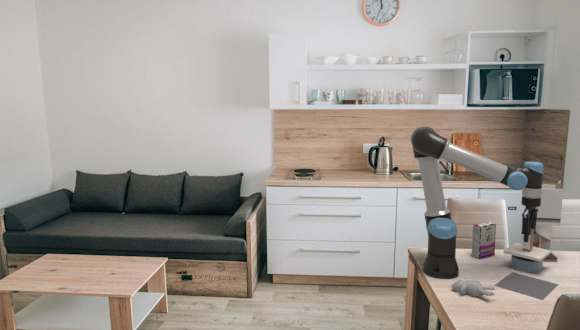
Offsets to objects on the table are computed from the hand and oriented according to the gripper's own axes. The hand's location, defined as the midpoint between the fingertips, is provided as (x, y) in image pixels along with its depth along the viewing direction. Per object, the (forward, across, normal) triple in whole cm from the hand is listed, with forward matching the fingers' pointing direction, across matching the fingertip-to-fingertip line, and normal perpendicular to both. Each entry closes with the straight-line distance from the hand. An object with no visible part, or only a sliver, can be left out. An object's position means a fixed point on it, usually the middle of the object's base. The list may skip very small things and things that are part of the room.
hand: (527, 247), depth 194 cm
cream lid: (+3, 0, 0) cm, 3 cm away
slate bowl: (+10, 0, 0) cm, 10 cm away
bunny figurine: (+10, -42, +6) cm, 44 cm away
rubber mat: (+10, -20, -7) cm, 24 cm away
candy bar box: (+10, +2, +20) cm, 23 cm away
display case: (+10, +20, 0) cm, 22 cm away
